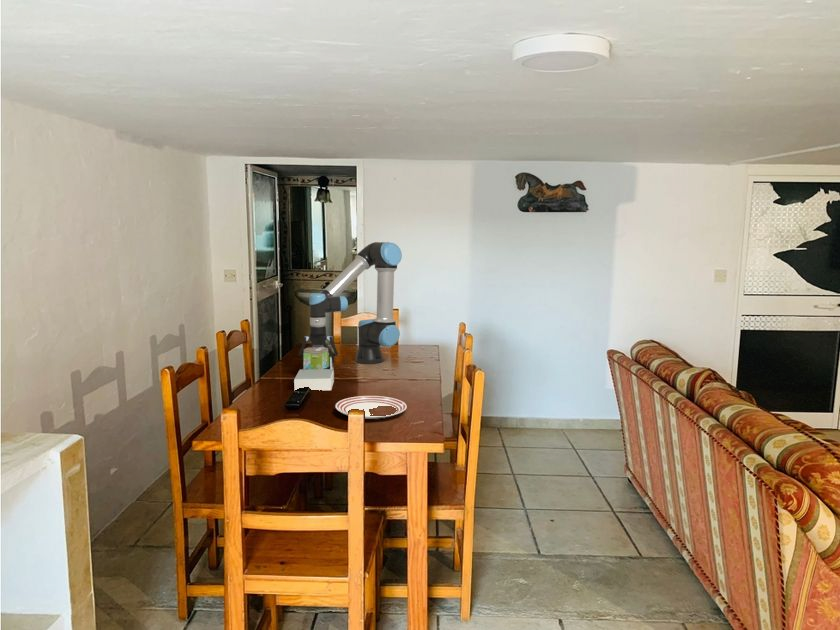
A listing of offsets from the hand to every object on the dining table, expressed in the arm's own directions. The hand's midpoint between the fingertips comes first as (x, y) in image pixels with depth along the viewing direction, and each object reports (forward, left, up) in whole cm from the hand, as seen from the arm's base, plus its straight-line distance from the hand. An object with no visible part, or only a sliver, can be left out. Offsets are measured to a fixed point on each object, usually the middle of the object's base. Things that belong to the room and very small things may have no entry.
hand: (318, 370), depth 277 cm
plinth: (0, +18, -3) cm, 18 cm away
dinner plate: (-26, +59, -4) cm, 65 cm away
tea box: (0, 0, -3) cm, 3 cm away
